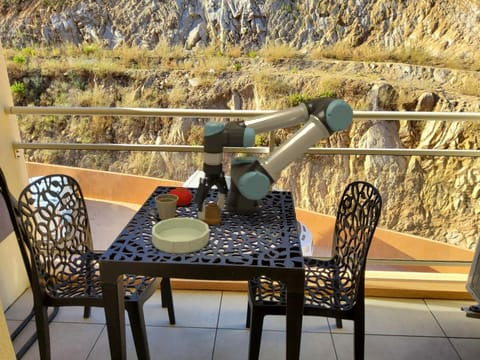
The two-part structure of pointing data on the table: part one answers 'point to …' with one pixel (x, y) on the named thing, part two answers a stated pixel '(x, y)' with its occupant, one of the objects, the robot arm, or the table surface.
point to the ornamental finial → (212, 214)
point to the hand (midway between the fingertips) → (211, 213)
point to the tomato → (182, 196)
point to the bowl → (180, 235)
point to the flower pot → (166, 206)
